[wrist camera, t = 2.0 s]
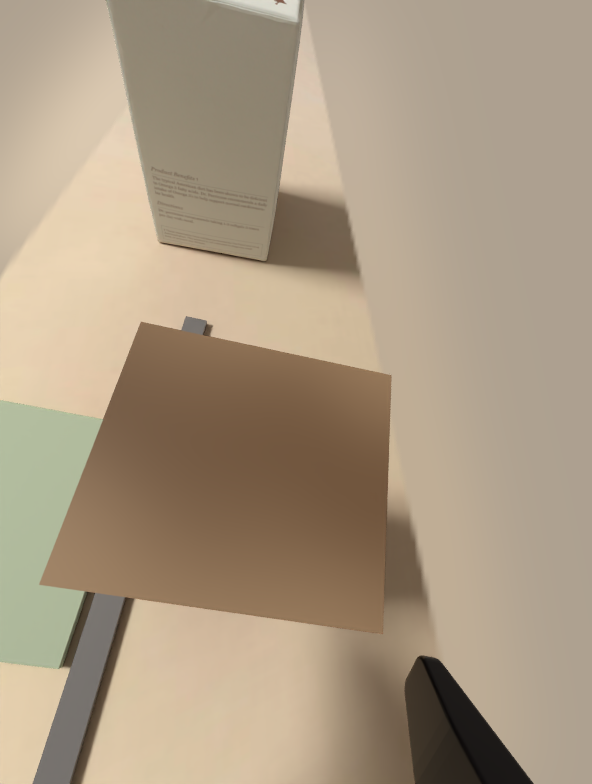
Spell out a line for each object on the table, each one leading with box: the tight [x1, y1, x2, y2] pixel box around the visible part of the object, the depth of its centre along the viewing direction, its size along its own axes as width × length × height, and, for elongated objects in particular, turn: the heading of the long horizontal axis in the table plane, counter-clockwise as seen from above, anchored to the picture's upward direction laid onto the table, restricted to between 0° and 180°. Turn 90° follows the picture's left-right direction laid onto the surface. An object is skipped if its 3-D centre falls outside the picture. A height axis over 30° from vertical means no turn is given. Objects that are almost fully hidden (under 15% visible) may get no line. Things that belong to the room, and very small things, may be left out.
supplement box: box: [106, 0, 304, 261], centre depth 21 cm, size 7×7×13 cm
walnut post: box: [39, 322, 391, 634], centre depth 12 cm, size 4×5×13 cm
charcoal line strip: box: [33, 316, 207, 784], centre depth 18 cm, size 22×1×1 cm, turn 172°
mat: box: [0, 400, 103, 669], centre depth 17 cm, size 10×7×1 cm
